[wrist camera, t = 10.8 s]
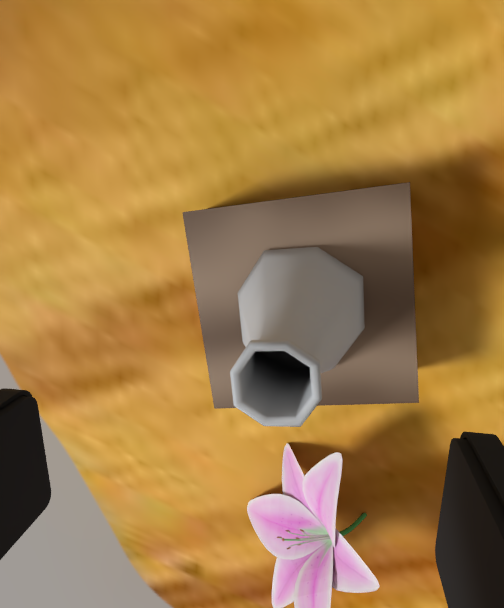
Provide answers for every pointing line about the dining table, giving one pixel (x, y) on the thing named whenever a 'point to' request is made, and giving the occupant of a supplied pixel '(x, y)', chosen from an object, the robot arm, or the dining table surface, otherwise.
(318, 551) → the lily
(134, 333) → the dining table surface
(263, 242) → the walnut block
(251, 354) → the flask
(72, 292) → the dining table surface
